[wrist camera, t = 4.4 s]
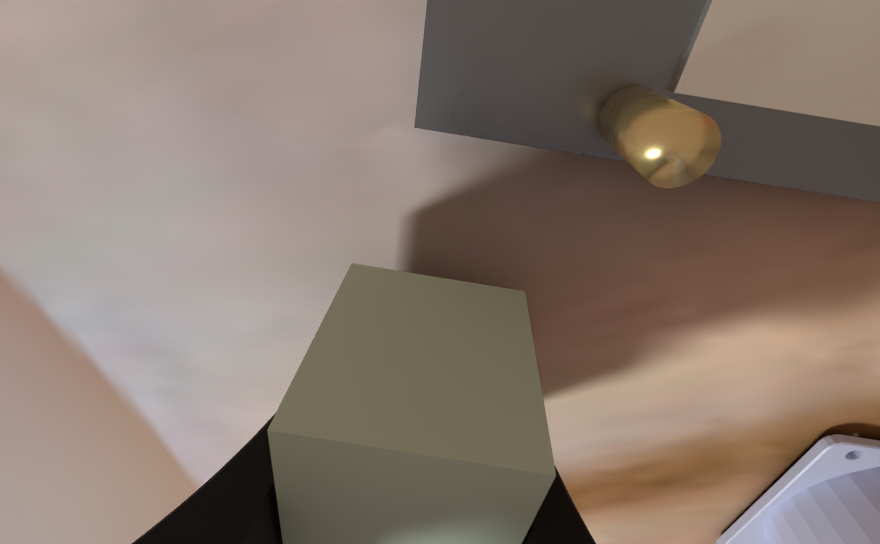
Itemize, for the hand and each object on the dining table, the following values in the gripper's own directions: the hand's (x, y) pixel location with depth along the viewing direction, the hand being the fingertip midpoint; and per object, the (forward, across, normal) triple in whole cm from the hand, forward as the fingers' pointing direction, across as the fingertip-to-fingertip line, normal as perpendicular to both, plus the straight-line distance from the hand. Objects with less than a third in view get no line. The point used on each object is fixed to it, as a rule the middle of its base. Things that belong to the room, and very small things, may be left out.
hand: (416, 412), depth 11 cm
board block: (+1, 0, 0) cm, 1 cm away
